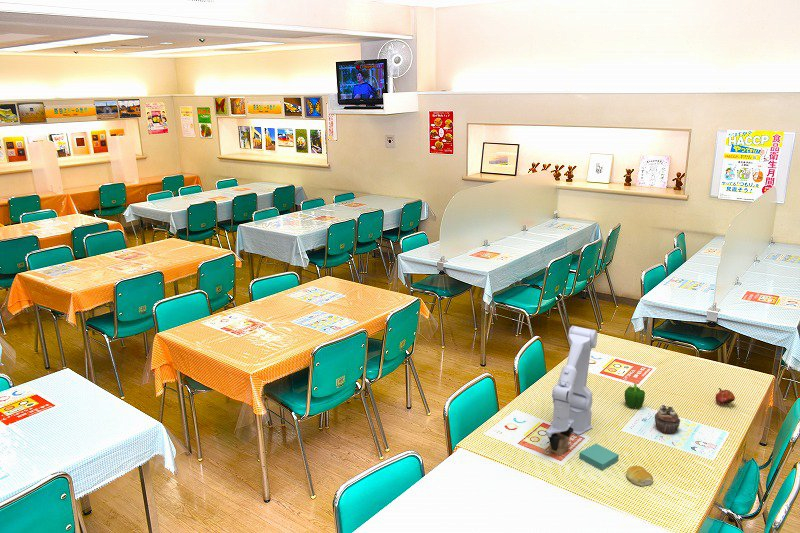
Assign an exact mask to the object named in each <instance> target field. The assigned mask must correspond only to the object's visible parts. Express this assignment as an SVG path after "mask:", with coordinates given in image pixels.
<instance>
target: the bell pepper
mask: <svg viewBox="0 0 800 533" xmlns="http://www.w3.org/2000/svg"><path fill="white" fill-rule="evenodd" d="M645 395H646V392H645V390H643V389H641V388H640V387H638V385H637V383H635V382H634V383H633V386H630V385H629V386H628V387H627V388H626V389H625V391H624V401H625V402H624V403H625V404H626V406H627V407H628V408H630V409H640V408H641V407H642V406H643V404H644V402H645V397H646V396H645Z"/></svg>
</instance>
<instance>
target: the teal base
mask: <svg viewBox="0 0 800 533" xmlns="http://www.w3.org/2000/svg"><path fill="white" fill-rule="evenodd" d="M619 455H620V454H618V453H616V452H614V451H612V450H611V449H608V448H606V447H605V446H602V445H600V444H598V443H593V444H592V445H590V446H588V447H587V448H585V449H583V450H581V451H580V452H579V456H578V459H580V460H582V461H583V462H585V463H587V464H589V465H591V466H592V467H594V468H596V469H598V470H600V471H605V469H607V468H609V467H611V466H612V465H614V464H616V463H618V461H619V458H620V456H619Z"/></svg>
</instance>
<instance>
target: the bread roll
mask: <svg viewBox="0 0 800 533" xmlns="http://www.w3.org/2000/svg"><path fill="white" fill-rule="evenodd" d="M625 477H626V479H627V480H629V482H631V483H632V484H633V485H636V486H640V487H646V486H647V487H648V486H651V485H652V483H653V481H654V478H653V475H652V474H651V473H650V472H648V470H646V469H645V468H644V467H643V466H640V465H631V466H630V467H628V468H627V470H626V476H625Z"/></svg>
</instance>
